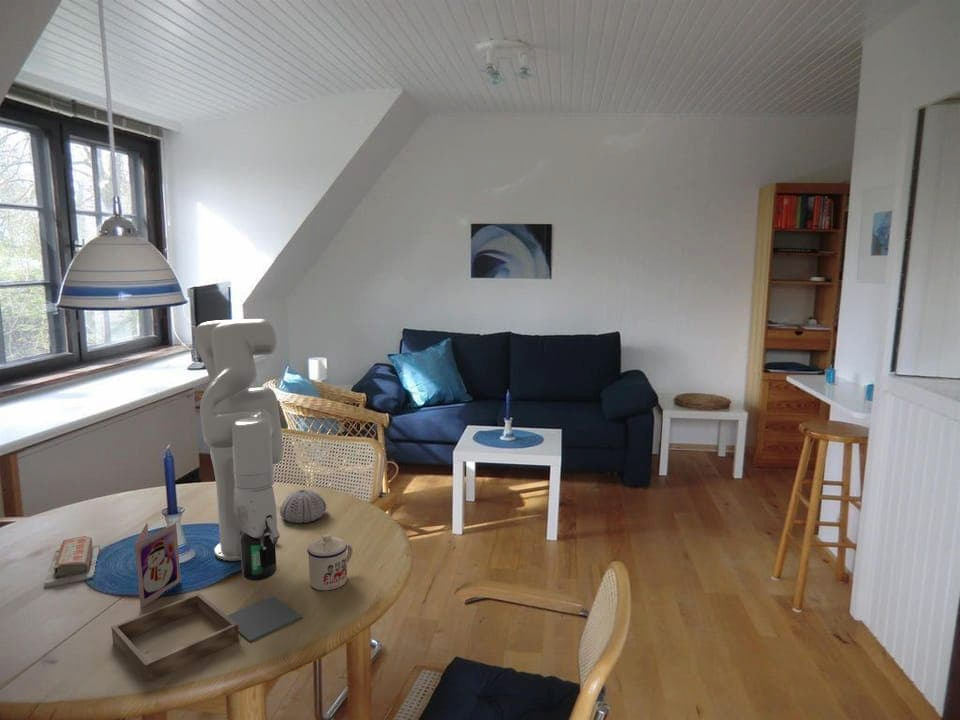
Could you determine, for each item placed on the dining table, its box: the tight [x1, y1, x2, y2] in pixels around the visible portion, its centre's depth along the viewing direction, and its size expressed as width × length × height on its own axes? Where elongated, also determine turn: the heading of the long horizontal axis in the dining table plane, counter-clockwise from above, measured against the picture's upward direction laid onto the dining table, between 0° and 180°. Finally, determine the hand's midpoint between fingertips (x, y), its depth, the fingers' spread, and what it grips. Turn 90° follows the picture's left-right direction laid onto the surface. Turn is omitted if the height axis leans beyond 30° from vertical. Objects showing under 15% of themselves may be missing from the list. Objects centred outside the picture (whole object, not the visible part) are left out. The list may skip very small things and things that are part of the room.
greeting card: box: [134, 522, 182, 608], centre depth 147 cm, size 11×7×15 cm, turn 160°
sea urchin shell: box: [279, 488, 327, 524], centre depth 190 cm, size 13×14×8 cm
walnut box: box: [111, 592, 240, 684], centre depth 130 cm, size 18×18×4 cm
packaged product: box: [44, 535, 101, 588], centre depth 160 cm, size 18×5×10 cm
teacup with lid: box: [306, 533, 354, 591], centre depth 154 cm, size 12×9×12 cm
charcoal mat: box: [226, 595, 304, 643], centre depth 138 cm, size 12×12×1 cm
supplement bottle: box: [240, 529, 277, 582], centre depth 136 cm, size 7×7×12 cm
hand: (259, 558), depth 136 cm, fingers closed on supplement bottle, 6 cm apart
